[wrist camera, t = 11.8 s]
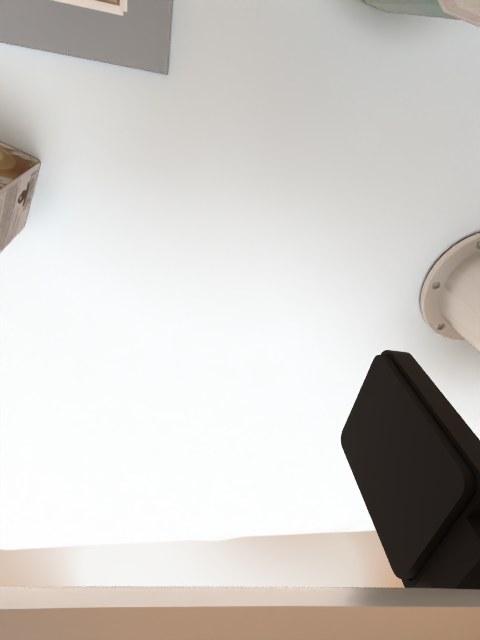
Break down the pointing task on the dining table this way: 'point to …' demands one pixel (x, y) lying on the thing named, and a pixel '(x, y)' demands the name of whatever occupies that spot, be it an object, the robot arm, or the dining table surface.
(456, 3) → the disposable coffee cup
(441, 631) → the robot arm
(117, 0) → the oak block
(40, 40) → the flat gray board
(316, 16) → the dining table surface
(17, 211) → the coffee box
